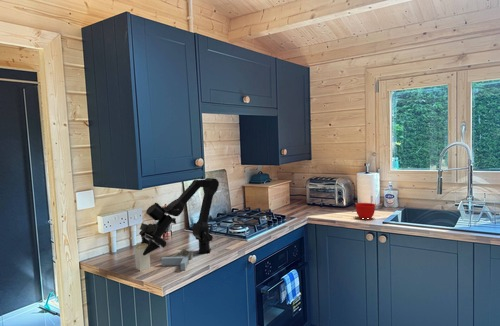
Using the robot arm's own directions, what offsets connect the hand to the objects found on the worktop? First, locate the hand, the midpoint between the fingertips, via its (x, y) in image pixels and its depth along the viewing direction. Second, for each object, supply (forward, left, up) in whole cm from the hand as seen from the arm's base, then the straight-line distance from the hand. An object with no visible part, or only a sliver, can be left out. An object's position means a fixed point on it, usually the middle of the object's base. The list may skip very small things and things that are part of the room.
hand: (141, 253), depth 166 cm
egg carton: (-10, +17, -8) cm, 21 cm away
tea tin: (0, 0, -7) cm, 7 cm away
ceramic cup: (-86, +132, -7) cm, 158 cm away
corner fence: (0, +15, -7) cm, 16 cm away
